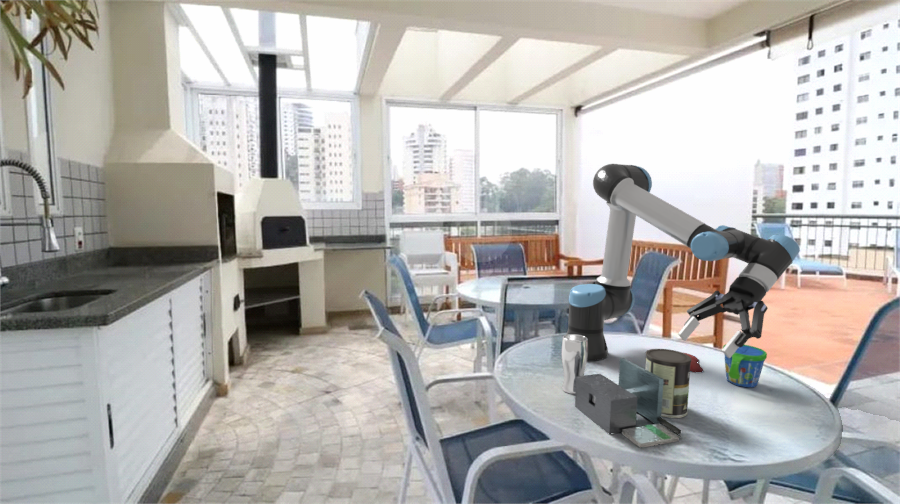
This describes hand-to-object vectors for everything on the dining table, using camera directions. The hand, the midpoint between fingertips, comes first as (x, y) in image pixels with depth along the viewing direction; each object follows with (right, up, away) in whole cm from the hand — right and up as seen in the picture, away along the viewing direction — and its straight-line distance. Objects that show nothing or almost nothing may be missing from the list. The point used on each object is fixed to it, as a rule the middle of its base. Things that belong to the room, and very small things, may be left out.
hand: (702, 345), depth 112 cm
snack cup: (+20, -14, +15) cm, 29 cm away
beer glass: (-30, -15, +10) cm, 35 cm away
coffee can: (-10, -16, -1) cm, 19 cm away
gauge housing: (-23, -17, -8) cm, 30 cm away
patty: (+10, -13, +32) cm, 36 cm away
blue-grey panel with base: (-23, -16, -8) cm, 29 cm away
